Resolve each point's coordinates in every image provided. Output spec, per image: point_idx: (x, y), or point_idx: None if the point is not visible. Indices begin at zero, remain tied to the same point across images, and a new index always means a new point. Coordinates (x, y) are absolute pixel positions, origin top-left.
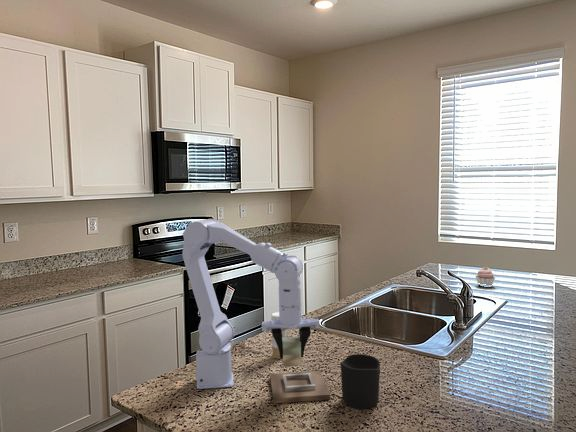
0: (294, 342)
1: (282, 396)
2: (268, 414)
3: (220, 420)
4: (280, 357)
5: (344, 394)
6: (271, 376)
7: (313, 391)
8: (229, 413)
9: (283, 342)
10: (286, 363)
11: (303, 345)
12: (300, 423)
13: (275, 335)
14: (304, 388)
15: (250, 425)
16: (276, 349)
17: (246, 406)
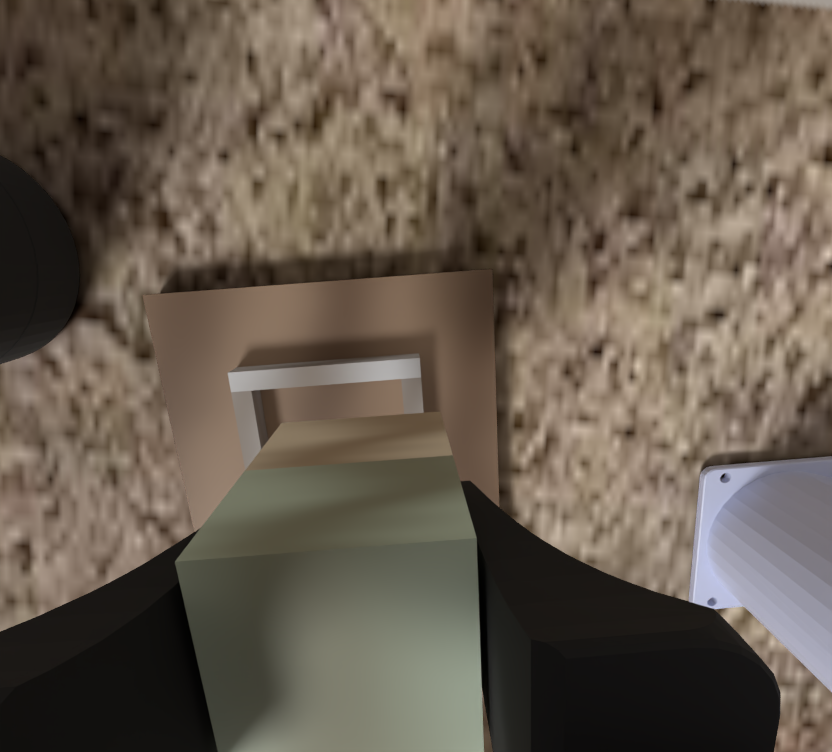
0: (284, 574)
1: (439, 291)
2: (523, 139)
3: (795, 91)
4: (475, 485)
5: (18, 208)
6: None
7: (249, 341)
8: (739, 170)
9: (465, 586)
10: (414, 423)
11: (170, 563)
12: (340, 8)
13: (708, 633)
14: (301, 365)
15: (633, 12)
16: None
17: (640, 245)
